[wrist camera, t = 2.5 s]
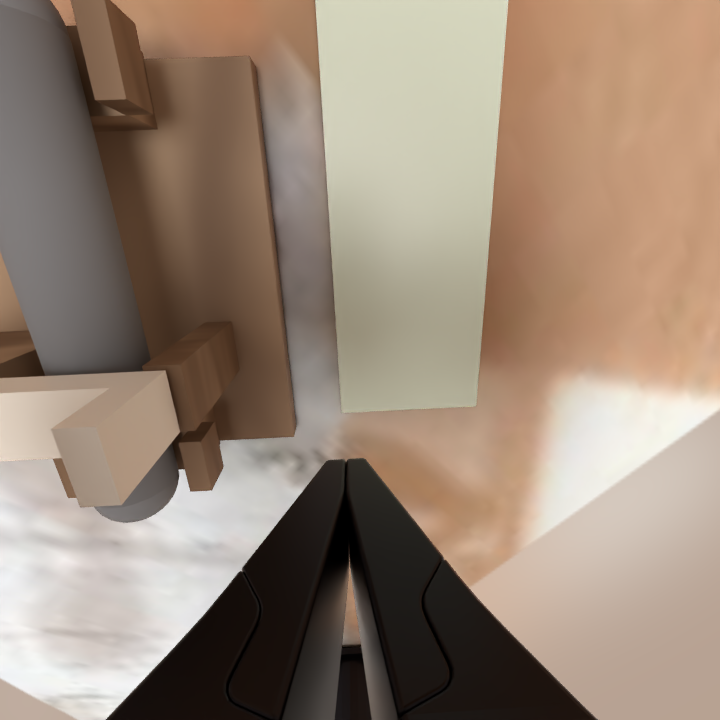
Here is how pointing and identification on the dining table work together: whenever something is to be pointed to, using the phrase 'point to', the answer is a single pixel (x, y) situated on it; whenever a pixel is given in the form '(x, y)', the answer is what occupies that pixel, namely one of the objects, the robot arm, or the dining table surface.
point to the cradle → (184, 237)
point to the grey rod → (65, 224)
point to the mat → (410, 192)
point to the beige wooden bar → (90, 428)
